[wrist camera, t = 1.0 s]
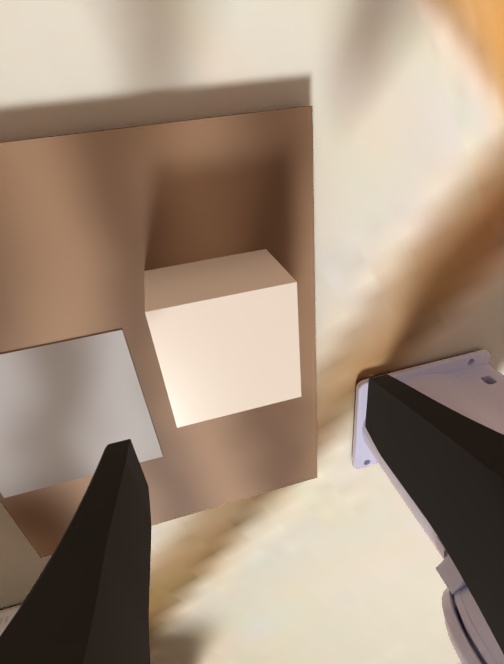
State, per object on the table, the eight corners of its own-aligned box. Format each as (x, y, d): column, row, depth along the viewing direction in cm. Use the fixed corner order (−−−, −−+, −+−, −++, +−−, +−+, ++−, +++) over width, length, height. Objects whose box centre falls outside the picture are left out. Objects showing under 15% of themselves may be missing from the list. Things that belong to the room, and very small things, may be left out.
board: (302, 106, 15) (312, 105, 14) (311, 466, 27) (317, 478, 26) (-211, 167, 12) (-238, 171, 12) (44, 542, 24) (40, 558, 23)
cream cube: (266, 248, 17) (296, 281, 13) (274, 348, 20) (301, 396, 16) (144, 270, 16) (145, 312, 13) (170, 372, 19) (177, 427, 15)
